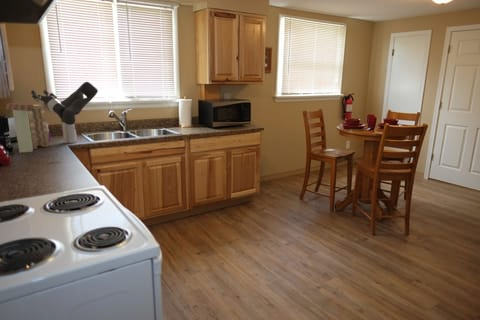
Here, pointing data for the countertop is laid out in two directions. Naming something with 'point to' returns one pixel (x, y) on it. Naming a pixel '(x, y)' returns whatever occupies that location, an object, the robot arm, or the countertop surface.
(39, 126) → the tan egg carton
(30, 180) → the countertop surface
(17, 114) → the sage post
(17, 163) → the countertop surface
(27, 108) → the walnut bar
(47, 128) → the candy bar box
